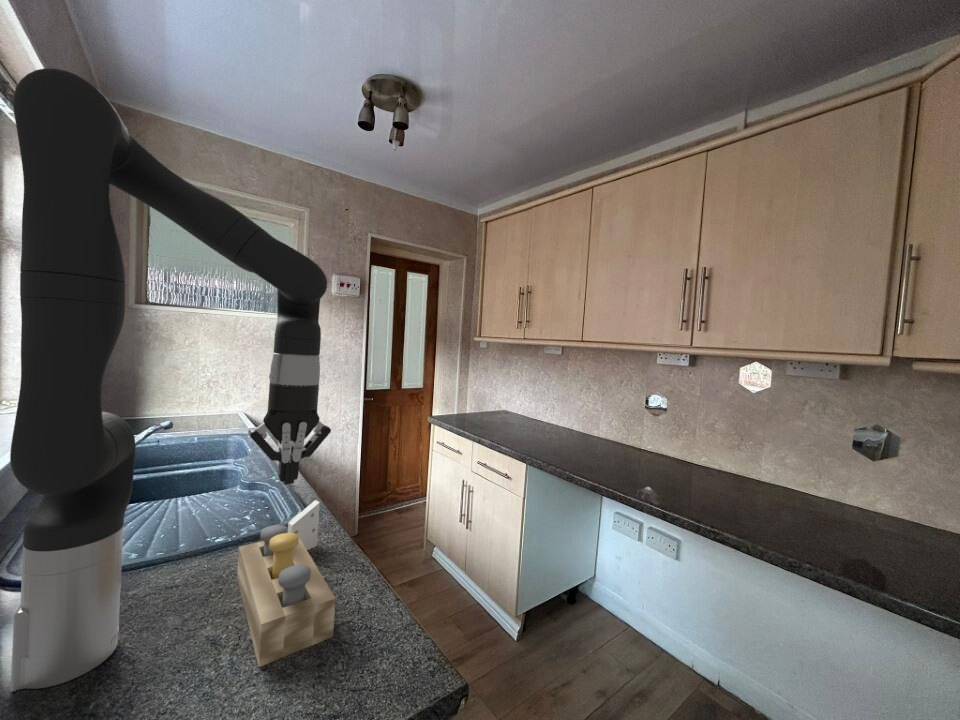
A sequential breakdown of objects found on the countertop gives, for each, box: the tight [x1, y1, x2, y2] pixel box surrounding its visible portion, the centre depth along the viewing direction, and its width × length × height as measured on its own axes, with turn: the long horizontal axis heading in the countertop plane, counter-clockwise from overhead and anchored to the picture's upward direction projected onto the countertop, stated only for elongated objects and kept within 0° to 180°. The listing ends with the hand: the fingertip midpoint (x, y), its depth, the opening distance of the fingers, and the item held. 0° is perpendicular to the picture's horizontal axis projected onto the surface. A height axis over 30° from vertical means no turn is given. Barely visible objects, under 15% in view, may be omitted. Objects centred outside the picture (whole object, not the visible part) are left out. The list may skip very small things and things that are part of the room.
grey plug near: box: [279, 565, 311, 608], centre depth 58 cm, size 4×4×9 cm
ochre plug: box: [269, 532, 299, 580], centre depth 64 cm, size 4×4×9 cm
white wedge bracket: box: [287, 499, 321, 550], centre depth 83 cm, size 4×10×9 cm, turn 141°
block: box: [236, 538, 336, 668], centre depth 64 cm, size 10×24×6 cm, turn 39°
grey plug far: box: [259, 524, 288, 557], centre depth 71 cm, size 4×4×9 cm
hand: (287, 482), depth 64 cm, fingers closed
